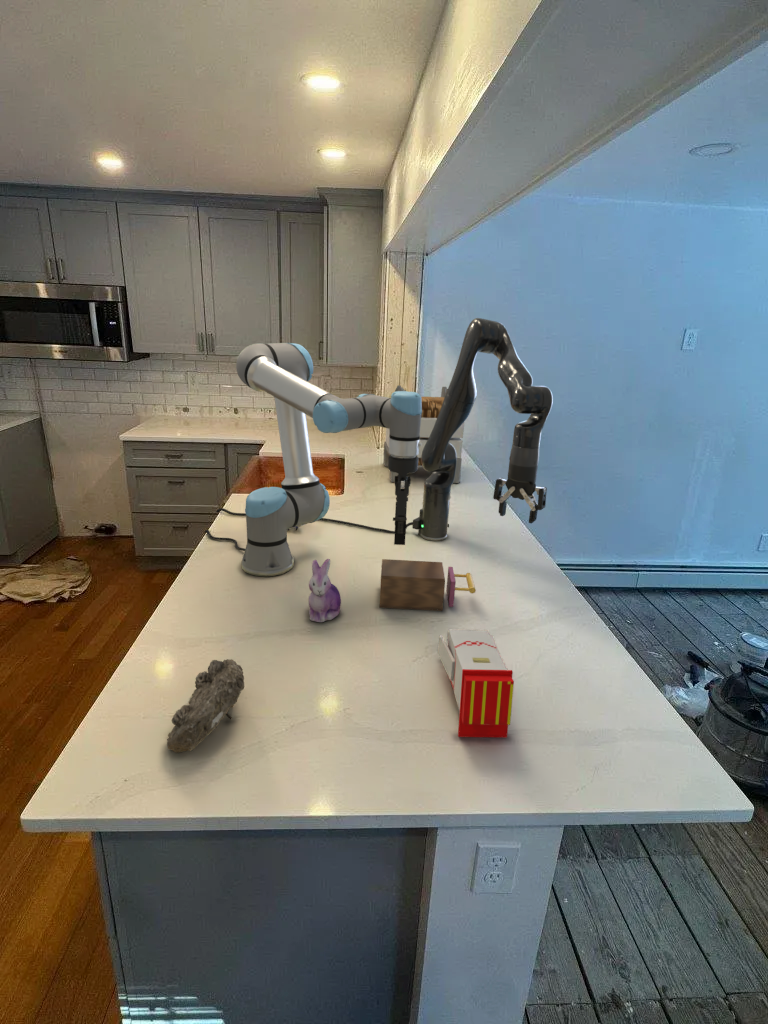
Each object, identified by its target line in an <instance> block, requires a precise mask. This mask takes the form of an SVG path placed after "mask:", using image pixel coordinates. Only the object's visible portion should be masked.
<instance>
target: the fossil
mask: <svg viewBox="0 0 768 1024" xmlns="http://www.w3.org/2000/svg"><path fill="white" fill-rule="evenodd" d="M243 670H244V669H243V667H242V665H240V664H237V662H236V661H235V660H234V659H232V658H231V659H227V658H226V659H224V660H223V661H222V660H217V659H212V660H211V661H210V663H209V665H208V666H207V671H201V672H199V673H198V674H197V675H196V676H195V680H194V684H195V685H194V687H195V689H194V690H193V693H192V694H191V697H190V698H189V700H188V704H184V705H182V706H181V707H180V709H177V710H176V711H175V713H174V715H173V716H172V718H171V723H172V724H173V727H172V730H171V731H170V732H168V734H167V738H166V741H167V742H166V745H167V749H168V750H169V751H173V752H174V753H176V754H178V753H182V752H188V751H189V752H192V751H193V750H195V748H196V747H197V746H199V744H200V743H201V742H203V741H204V740H205V739H206V738H207V737H208V736H209V735H210V734H211V733H212V732H214V730H215V729H217V727H218V726H219V724H220V722H221V721H222V720H223V719H224V718H225V716H226V717H227V719H229V720H233V717H232V715H230V714H229V710H230V709H231V708H234V706H235V704H236V703H237V702H238V699H239V697H240V695H241V693H242V691H243V690H245V689H244V688H245V675H244V671H243Z"/></svg>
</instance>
